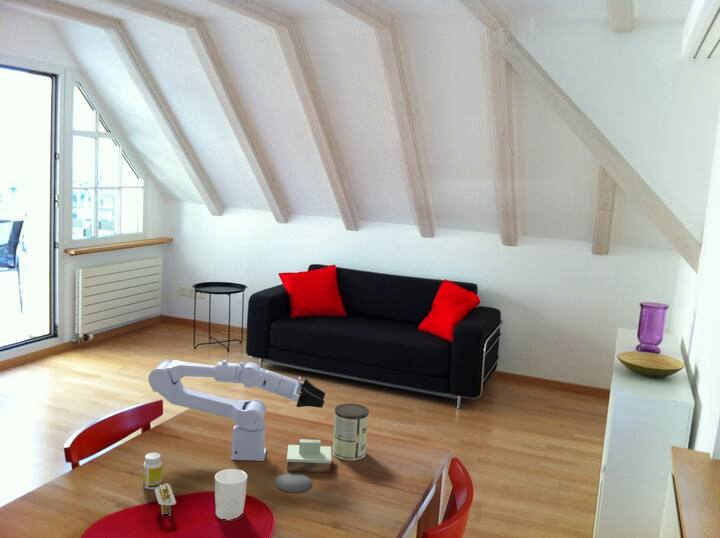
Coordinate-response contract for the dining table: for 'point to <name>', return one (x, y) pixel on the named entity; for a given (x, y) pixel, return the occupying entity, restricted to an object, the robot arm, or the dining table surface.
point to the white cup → (230, 493)
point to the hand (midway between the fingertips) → (323, 400)
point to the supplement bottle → (152, 471)
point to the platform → (165, 498)
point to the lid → (309, 452)
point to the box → (308, 467)
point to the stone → (293, 482)
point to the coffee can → (350, 431)
